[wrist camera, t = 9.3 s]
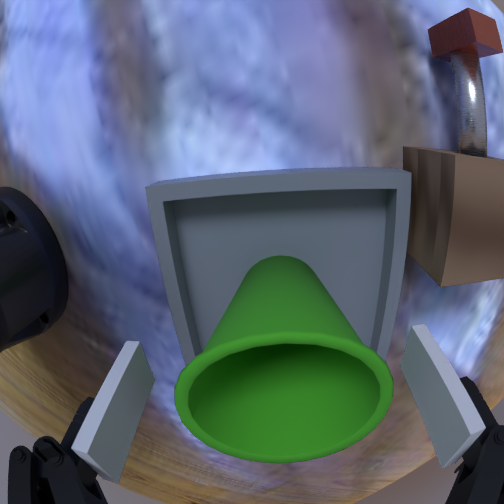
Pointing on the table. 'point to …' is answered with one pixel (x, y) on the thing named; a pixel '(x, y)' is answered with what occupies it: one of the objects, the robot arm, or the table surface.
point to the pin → (467, 71)
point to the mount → (456, 215)
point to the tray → (283, 242)
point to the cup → (283, 372)
